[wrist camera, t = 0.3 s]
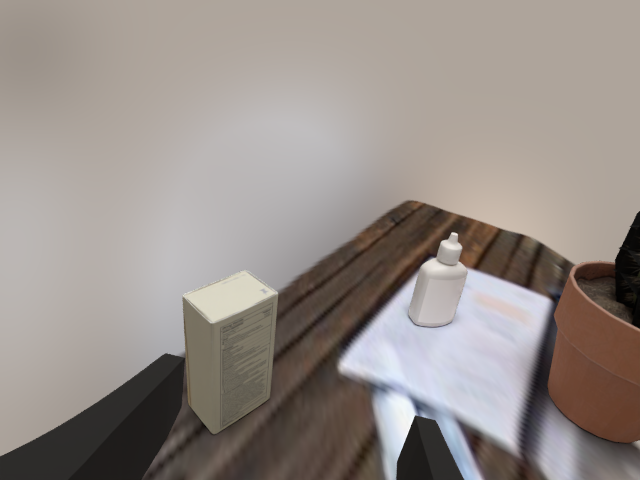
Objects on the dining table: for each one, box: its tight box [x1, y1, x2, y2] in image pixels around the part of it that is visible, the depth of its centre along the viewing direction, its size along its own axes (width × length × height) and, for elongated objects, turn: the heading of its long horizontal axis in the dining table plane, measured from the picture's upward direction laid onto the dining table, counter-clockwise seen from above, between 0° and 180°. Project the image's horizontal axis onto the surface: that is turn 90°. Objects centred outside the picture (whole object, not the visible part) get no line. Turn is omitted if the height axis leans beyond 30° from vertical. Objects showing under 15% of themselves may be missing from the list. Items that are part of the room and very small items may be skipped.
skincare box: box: [183, 270, 278, 434], centre depth 35 cm, size 6×4×12 cm
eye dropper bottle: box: [408, 233, 467, 327], centre depth 50 cm, size 4×6×12 cm
